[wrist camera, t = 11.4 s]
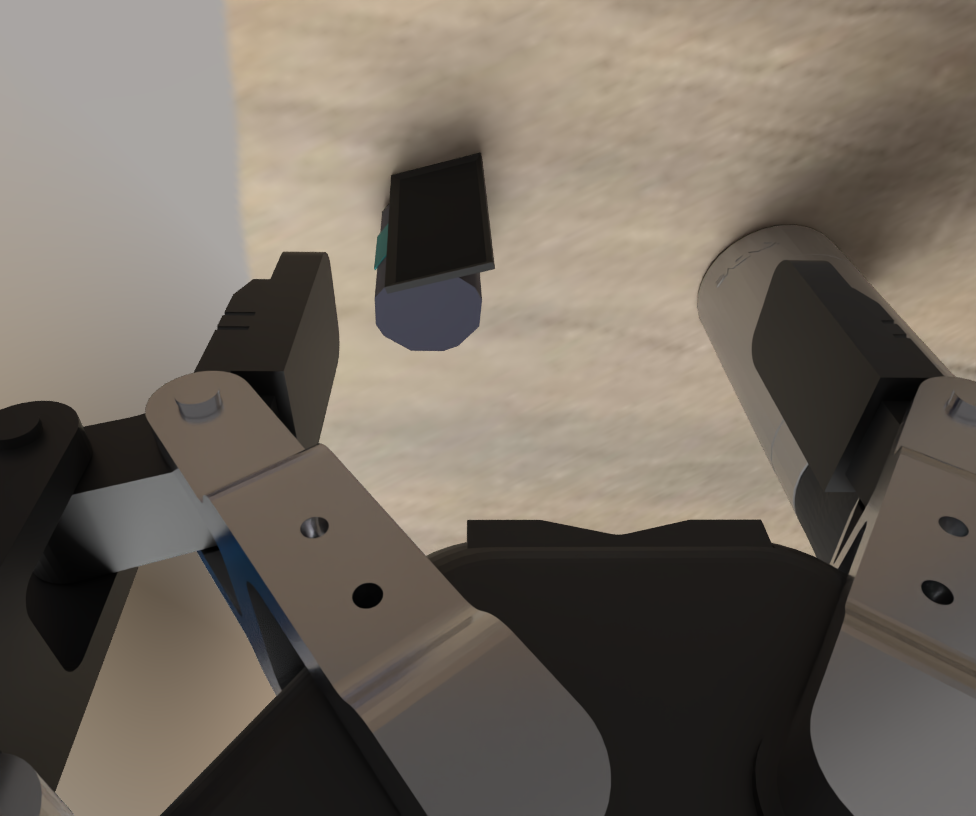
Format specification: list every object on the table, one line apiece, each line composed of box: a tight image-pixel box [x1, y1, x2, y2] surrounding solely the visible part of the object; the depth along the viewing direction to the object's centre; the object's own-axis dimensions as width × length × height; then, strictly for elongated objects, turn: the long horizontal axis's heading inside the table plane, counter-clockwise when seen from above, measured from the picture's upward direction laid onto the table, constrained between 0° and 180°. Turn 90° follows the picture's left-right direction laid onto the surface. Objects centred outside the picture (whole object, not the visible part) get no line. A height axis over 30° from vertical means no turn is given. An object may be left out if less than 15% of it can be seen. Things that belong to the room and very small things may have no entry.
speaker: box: [374, 153, 495, 351], centre depth 37 cm, size 8×6×10 cm
